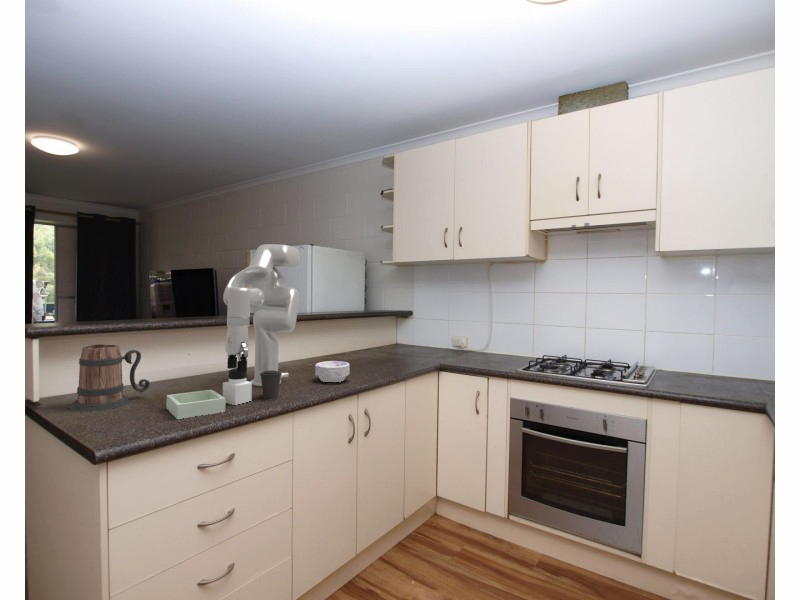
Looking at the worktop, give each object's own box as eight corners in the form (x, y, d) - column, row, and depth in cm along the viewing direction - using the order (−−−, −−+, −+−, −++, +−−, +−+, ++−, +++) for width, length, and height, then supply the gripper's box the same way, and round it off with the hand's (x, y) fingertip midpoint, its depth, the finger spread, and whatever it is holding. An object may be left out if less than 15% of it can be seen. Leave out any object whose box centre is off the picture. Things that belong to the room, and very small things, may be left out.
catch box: (211, 402, 152) (211, 389, 152) (225, 411, 141) (225, 398, 141) (166, 408, 143) (166, 395, 143) (177, 419, 132) (177, 405, 132)
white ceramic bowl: (307, 382, 188) (308, 364, 188) (328, 376, 202) (329, 359, 202) (335, 386, 181) (336, 368, 181) (355, 380, 195) (356, 362, 195)
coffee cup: (258, 395, 163) (258, 369, 162) (280, 394, 166) (280, 368, 165) (260, 401, 155) (260, 373, 155) (283, 399, 158) (283, 372, 158)
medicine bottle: (251, 401, 155) (252, 368, 154) (234, 406, 149) (235, 371, 148) (239, 398, 158) (239, 366, 158) (222, 402, 152) (222, 368, 152)
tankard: (79, 415, 133) (79, 351, 133) (61, 405, 143) (62, 345, 143) (158, 401, 152) (159, 344, 151) (138, 392, 162) (139, 340, 161)
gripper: (219, 320, 157) (218, 367, 157) (236, 323, 143) (234, 374, 143) (240, 320, 161) (238, 366, 161) (258, 323, 148) (256, 373, 148)
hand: (236, 370), depth 152 cm, fingers open, 9 cm apart
